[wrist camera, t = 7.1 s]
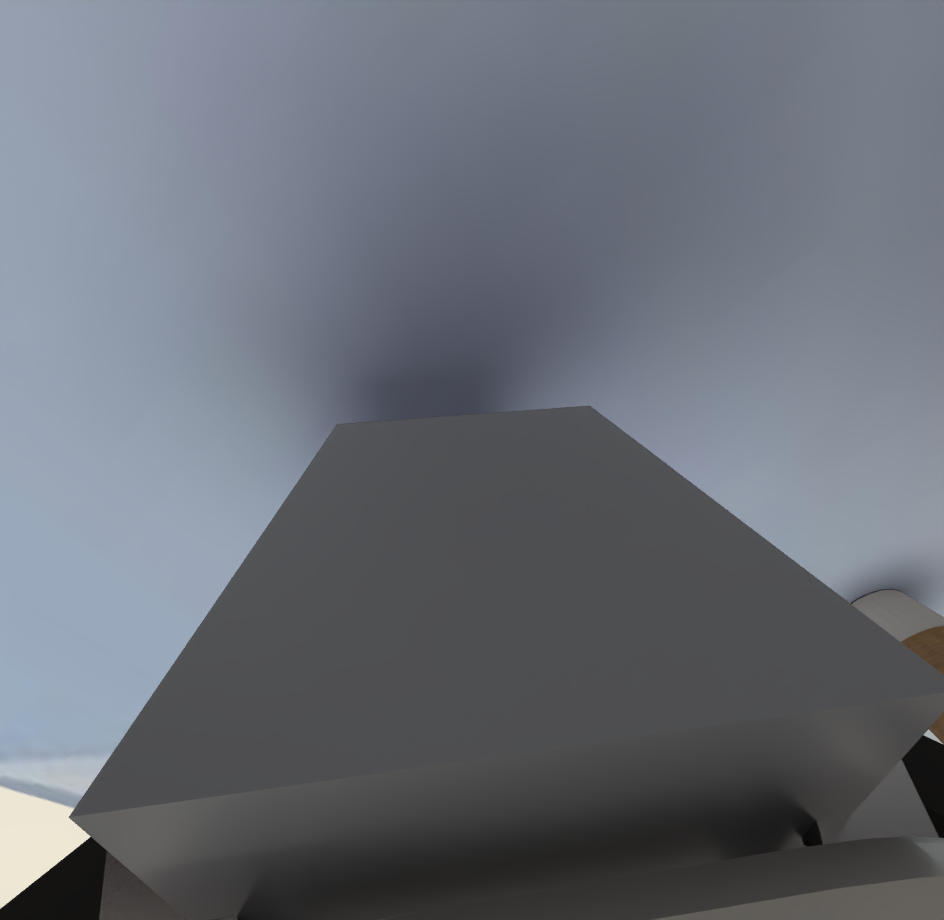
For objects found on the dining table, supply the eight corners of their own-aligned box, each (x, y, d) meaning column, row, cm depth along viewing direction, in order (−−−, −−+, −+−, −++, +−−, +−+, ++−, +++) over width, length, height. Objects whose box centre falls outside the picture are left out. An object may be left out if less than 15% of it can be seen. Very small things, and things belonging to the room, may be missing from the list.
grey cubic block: (337, 424, 11) (70, 816, 3) (590, 405, 11) (963, 690, 3) (378, 610, 14) (309, 1025, 6) (570, 588, 15) (733, 945, 7)
